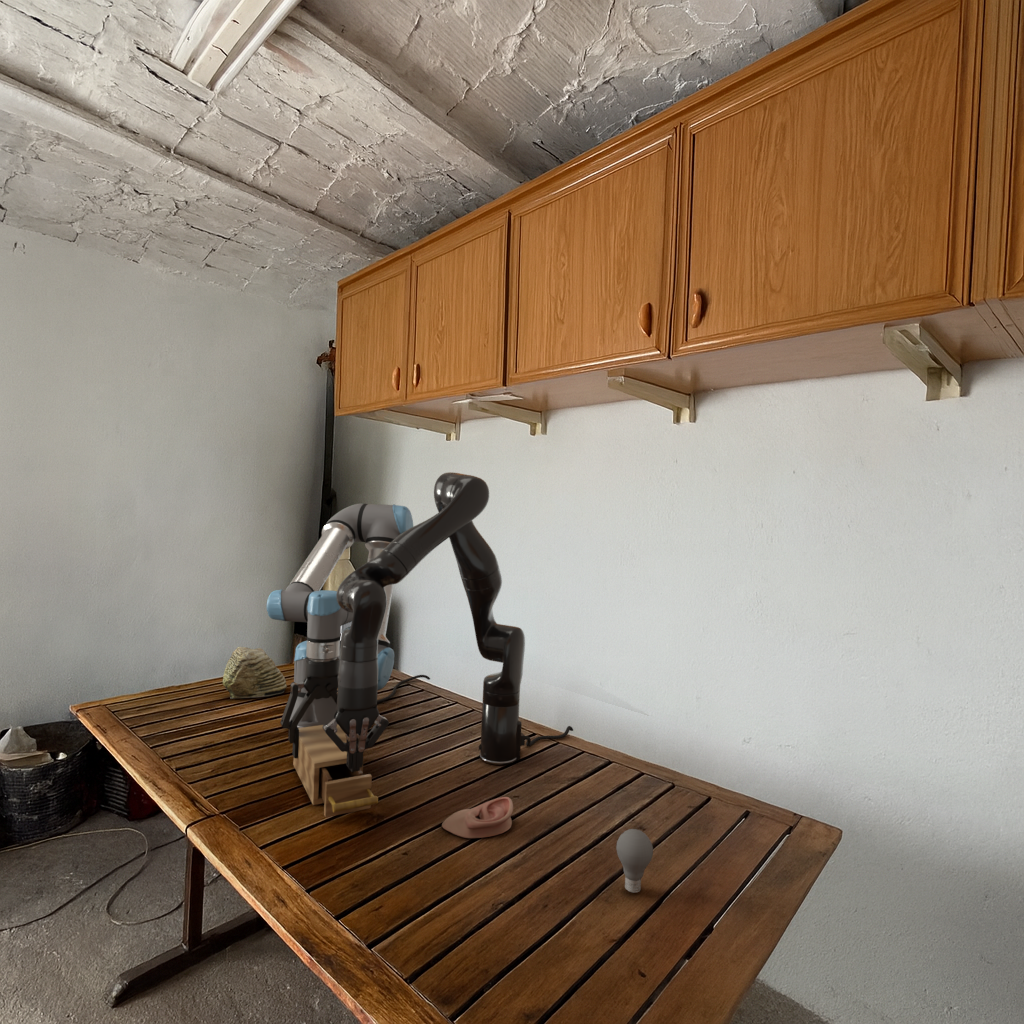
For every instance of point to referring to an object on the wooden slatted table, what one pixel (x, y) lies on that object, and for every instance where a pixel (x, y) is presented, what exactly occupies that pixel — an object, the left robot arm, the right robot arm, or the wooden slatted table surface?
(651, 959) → the wooden slatted table surface
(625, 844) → the light bulb
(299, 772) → the cabinet
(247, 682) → the fossil
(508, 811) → the anatomical model
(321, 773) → the drawer
